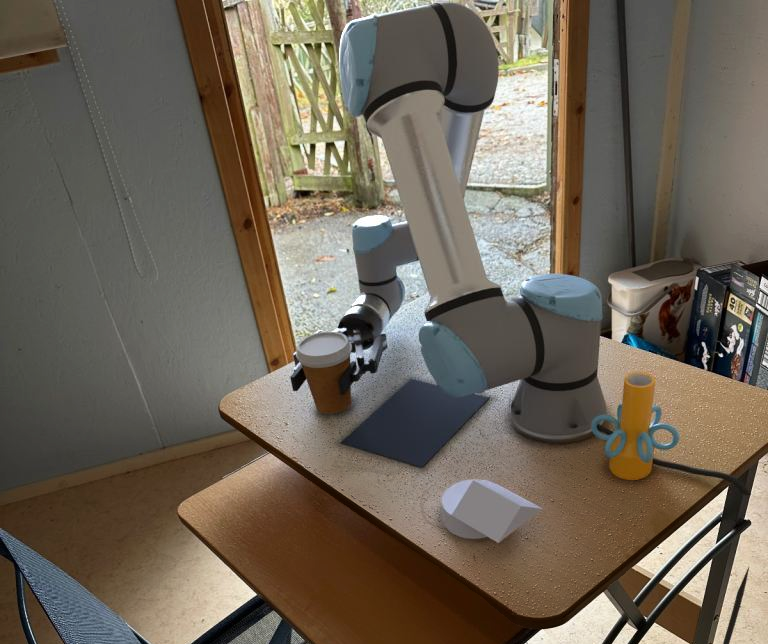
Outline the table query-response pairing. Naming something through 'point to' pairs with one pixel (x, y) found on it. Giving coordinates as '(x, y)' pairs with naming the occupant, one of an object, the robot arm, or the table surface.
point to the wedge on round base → (484, 510)
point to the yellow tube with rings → (634, 429)
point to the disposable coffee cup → (326, 369)
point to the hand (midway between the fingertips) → (317, 386)
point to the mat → (414, 423)
